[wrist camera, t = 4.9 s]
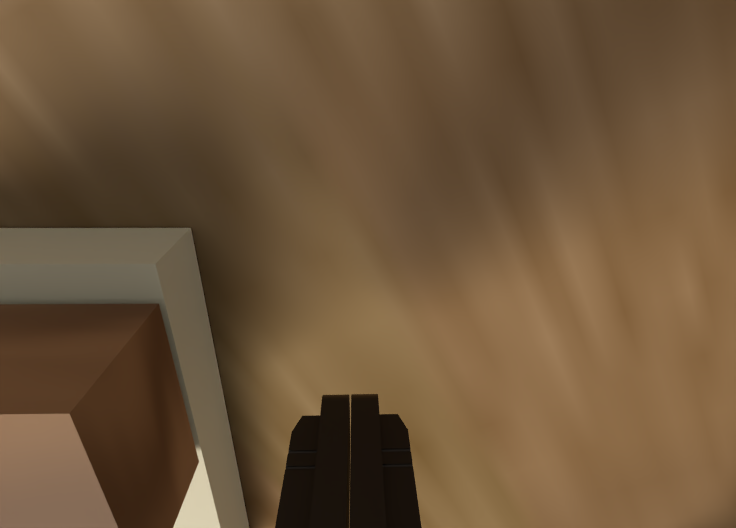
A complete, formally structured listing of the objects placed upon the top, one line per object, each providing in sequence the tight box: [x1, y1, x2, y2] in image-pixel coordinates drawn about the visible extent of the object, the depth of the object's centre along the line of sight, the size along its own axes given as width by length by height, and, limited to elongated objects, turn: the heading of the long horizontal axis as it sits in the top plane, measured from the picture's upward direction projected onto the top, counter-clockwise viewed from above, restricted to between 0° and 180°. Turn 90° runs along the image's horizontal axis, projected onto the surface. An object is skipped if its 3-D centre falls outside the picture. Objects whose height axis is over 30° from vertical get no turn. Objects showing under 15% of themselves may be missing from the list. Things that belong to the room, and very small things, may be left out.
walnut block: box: [0, 304, 199, 528], centre depth 10 cm, size 6×6×4 cm
